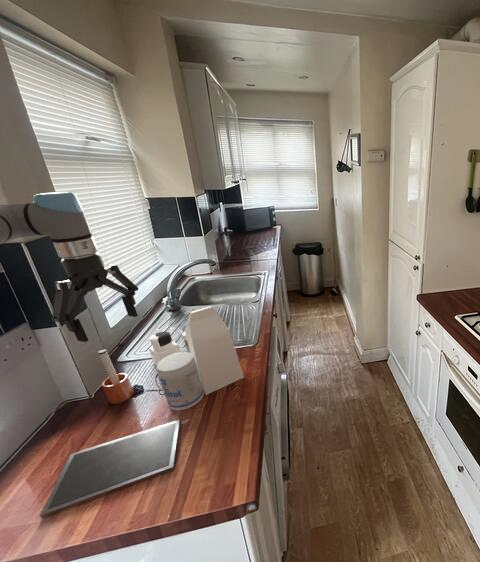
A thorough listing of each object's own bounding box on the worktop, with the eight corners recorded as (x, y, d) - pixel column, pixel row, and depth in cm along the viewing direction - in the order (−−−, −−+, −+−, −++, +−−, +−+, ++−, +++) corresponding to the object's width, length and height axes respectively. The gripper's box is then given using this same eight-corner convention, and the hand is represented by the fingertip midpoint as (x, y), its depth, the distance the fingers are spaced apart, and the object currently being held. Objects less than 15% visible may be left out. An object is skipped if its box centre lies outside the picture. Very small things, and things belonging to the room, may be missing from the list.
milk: (205, 395, 96) (183, 323, 86) (196, 377, 104) (175, 309, 95) (244, 377, 104) (227, 309, 94) (232, 362, 112) (216, 297, 102)
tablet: (41, 518, 64) (39, 515, 64) (72, 456, 77) (70, 453, 77) (174, 470, 73) (173, 466, 73) (181, 422, 87) (180, 418, 86)
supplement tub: (162, 412, 90) (146, 372, 84) (180, 390, 99) (167, 351, 93) (195, 411, 90) (182, 370, 85) (210, 388, 99) (199, 350, 93)
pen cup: (107, 407, 93) (98, 389, 90) (113, 394, 98) (105, 376, 95) (132, 400, 95) (124, 382, 92) (136, 388, 100) (129, 370, 98)
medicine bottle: (175, 354, 117) (166, 327, 113) (183, 360, 113) (174, 333, 109) (154, 364, 112) (143, 336, 107) (162, 371, 108) (152, 342, 103)
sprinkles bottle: (196, 360, 114) (186, 328, 108) (208, 359, 113) (199, 328, 108) (189, 367, 109) (178, 335, 104) (201, 367, 109) (191, 335, 104)
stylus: (117, 398, 95) (97, 353, 89) (119, 395, 97) (99, 350, 90) (124, 397, 96) (104, 351, 89) (126, 393, 97) (106, 348, 91)
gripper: (28, 273, 66) (68, 355, 74) (137, 243, 88) (159, 308, 96) (5, 271, 68) (46, 351, 76) (118, 241, 90) (141, 306, 98)
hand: (110, 327), depth 86 cm, fingers open, 13 cm apart
